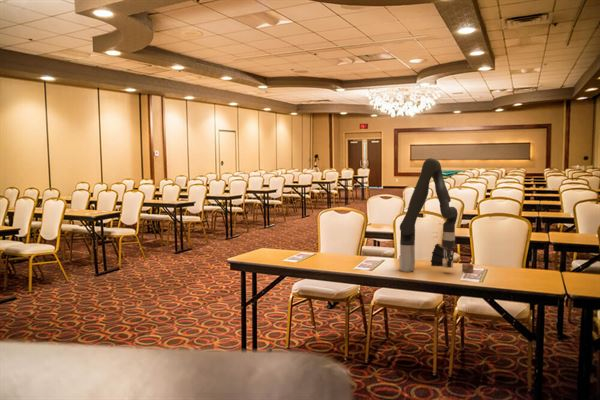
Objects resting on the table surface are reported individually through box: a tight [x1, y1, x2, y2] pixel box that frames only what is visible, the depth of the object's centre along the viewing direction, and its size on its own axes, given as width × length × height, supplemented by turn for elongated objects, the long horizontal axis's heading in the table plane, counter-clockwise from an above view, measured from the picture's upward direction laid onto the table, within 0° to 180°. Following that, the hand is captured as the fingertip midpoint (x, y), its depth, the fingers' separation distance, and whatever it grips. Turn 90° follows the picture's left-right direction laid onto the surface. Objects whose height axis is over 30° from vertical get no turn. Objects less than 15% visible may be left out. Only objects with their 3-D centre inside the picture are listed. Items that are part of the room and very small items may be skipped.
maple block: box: [441, 258, 454, 269], centre depth 300 cm, size 5×5×5 cm
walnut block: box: [461, 263, 474, 274], centre depth 301 cm, size 5×5×5 cm
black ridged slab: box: [430, 243, 445, 267], centre depth 326 cm, size 4×13×15 cm, turn 54°
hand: (447, 265), depth 300 cm, fingers closed on maple block, 5 cm apart
